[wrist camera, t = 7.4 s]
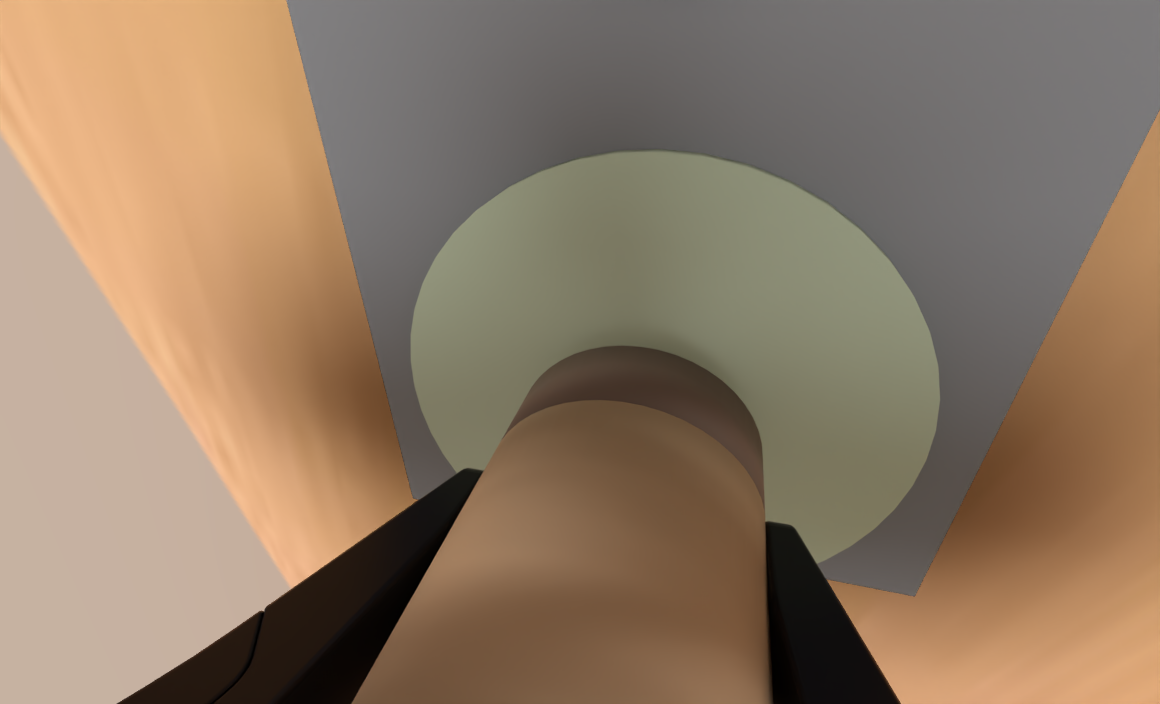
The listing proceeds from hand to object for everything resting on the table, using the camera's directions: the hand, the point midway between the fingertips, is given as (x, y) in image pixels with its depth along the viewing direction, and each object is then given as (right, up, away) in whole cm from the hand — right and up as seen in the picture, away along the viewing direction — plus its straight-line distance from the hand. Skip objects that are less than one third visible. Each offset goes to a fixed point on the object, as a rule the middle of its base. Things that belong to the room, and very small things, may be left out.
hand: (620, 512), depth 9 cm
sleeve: (0, +1, +1) cm, 2 cm away
